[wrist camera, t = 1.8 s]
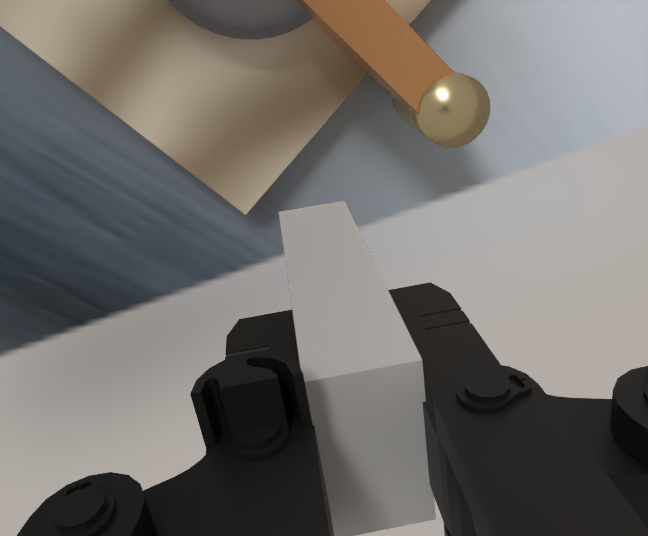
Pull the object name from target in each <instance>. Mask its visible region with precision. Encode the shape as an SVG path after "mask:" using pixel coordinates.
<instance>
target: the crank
mask: <svg viewBox="0 0 648 536" xmlns="http://www.w3.org/2000/svg"><path fill="white" fill-rule="evenodd" d="M167 1H168V2H169V3H170V4H171V5H172V6H173V7H174V8H175V9H176V10H177V11H178V12H179V13H181V14H182V15H183V16H185V17H186V18H187V19H188V20H190V21H192V22H193V23H195V24H197V25H198V26H200V27H202V28H204V29H207V30H209V31H211V32H213V33H216V34H219V35H223V36H226V37H230V38H237V39H265V38H272V37H276V36H279V35H283V34H286V33H288V32H290V31H293V30H295V29H297V28H299V27H301V26H302V25H304V24H306V23H307V22H309V21H310V20H312V19H313V20H314V21H315V22H316V23H317V24H318V25H319V26H320V27H321V28H322V29H323V30H324V31H325V32H326V33H327V34H328V35H329V36H330V37H331V38H332V39H333V40H334V41H335V42H336V43H337V44H338V45H339V46H340V47H341V48H343V49H344V50H345V51H346V52H347V53H348V54H349V55H350V56H351V57H352V58H353V59H354V60H355V61H356V62H357V63H358V64H359V65H360V66H361V67H362V68H363V69H364V70H365V71H366V72H367V73H368V74H369V75H370V76H371V77H372V78H373V79H374V80H376V81H377V82H378V83H379V84H380V85H381V86H382V87H383V88H384V89H385V90H386V91H387V92H388V93H389V94H390V95H391V96H392V99H393V105H394V108H395V110H396V112H397V113H398V115H399V116H400V117H401V118H402V119H404V120H405V121H406V122H408V123H409V124H410V125H412V126H413V127H414V128H416V129H417V130H418V131H420V132H421V133H423V134H424V135H425V136H427V137H428V138H429V139H431V140H432V141H433V142H435V143H437V144H438V145H441V146H444V147H459V146H463V145H465V144H468V143H469V142H471V141H472V140H474V139H475V138H476V137H477V136H478V135H479V134H480V133H481V132H482V130H483V129H484V127H485V125H486V124H487V121H488V118H489V114H490V100H489V96H488V94H487V91H486V90H485V88H484V87H483V85H482V84H481V83H480V82H479V81H477V80H476V79H474V78H472V77H470V76H467V75H464V74H461V73H458V72H454V71H452V70H451V69H450V68H449V67H448V66H447V64H446V63H445V62H444V61H443V60H442V59H441V58H440V57H439V56H438V55H437V54H436V53H435V52H434V51H433V50H432V49H431V48H430V47H429V46H428V45H427V44H426V42H425V41H424V40H423V39H422V38H421V37H420V36H419V35H418V34H417V33H416V32H415V31H414V30H413V29H412V28H411V27H410V26H409V25H408V24H407V23H406V22H405V21H404V19H403V18H402V17H401V16H400V15H399V14H398V13H397V12H396V11H395V10H394V9H393V8H392V7H391V6H390V5H389V4H388V3H387V2H386V1H385V0H167Z"/></svg>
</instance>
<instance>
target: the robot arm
mask: <svg viewBox="0 0 648 536" xmlns="http://www.w3.org/2000/svg"><path fill="white" fill-rule="evenodd" d="M279 218H280V226H281V233H282V240H283V247H284V254H285V261H286V268H287V276H288V282H289V290H290V297H291V304H292V310H288V311H282V312H277V313H271V314H266V315H261V316H255V317H249V318H244V319H239V321H238V322H237V323H236V325H235V326H234V327H233V329H232V330H231V331H230V333H229V334H228V335H227V342H226V357H225V360H224V361H222V362H220V363H218V364H216V365H214V366H213V367H211V368H209V369H208V370H207V371H206V372H205V373H204V374H203V375H202V376H201V377H200V378H198V379H197V380H196V383H195V385H194V387H193V389H192V391H191V398H192V401H193V405H194V408H195V411H196V414H197V418H198V422H199V425H200V429H201V432H202V435H203V439H204V442H205V446H206V455H205V456H204V457H203V458H202V460H200V461H199V462H198V463H196V464H195V465H194V466H192V467H191V468H190V469H188V470H186V471H185V472H183V473H181V474H179V475H177V476H175V477H173V478H171V479H169V480H166V481H164V482H162V483H160V484H157V485H155V486H153V487H151V488H148V489H146V490H144V491H143V490H142V487H141V485H140V484H139V483H138V482H137V481H135V480H134V479H133V478H131V477H130V476H129V475H124V474H118V473H112V472H110V473H103V474H97V475H91V476H88V477H85V478H83V479H80V480H78V481H76V482H73V483H71V484H68V485H66V486H65V487H63V488H62V489H61V490H59V491H58V492H56V493H55V494H53V495H52V496H50V497H49V498H47V499H46V500H45V501H44V502H43V503H42V504H41V505H40V507H39V508H38V509H37V510H36V511H35V512H34V513H33V514H32V515H31V516H30V517H29V519H28V520H27V522H26V523H25V525H24V526H23V527H22V529H21V530H20V532H19V533H18V535H17V536H354V535H359V534H364V533H369V532H374V531H379V530H384V529H389V528H394V527H399V526H404V525H409V524H414V523H419V522H424V521H429V520H434V519H436V516H435V504H434V497H435V500H436V502H437V505H438V508H439V510H440V513H441V516H442V518H443V521H444V532H445V536H648V366H646V367H641V368H637V369H632V370H630V371H628V372H627V373H625V374H624V375H622V376H621V377H619V378H618V379H617V382H616V384H615V387H614V389H613V397H612V399H588V398H566V397H555V396H551V395H547V394H546V393H545V392H544V391H543V389H542V388H541V387H540V386H539V385H538V383H536V382H535V381H534V380H533V379H532V378H530V377H529V376H528V375H527V374H526V373H523V372H521V371H518V370H516V369H513V368H511V367H509V366H502V365H500V363H499V362H498V360H497V359H496V358H495V356H494V355H493V353H492V352H491V351H490V349H489V348H488V346H487V345H486V343H485V342H484V340H483V339H482V338H481V336H480V335H479V333H478V332H477V330H476V329H475V328H474V326H473V325H472V324H470V321H469V319H468V318H467V316H466V315H465V313H464V312H463V311H461V308H460V306H459V305H458V304H457V302H456V301H455V299H454V298H453V296H452V295H451V293H449V292H447V291H445V290H443V289H442V288H440V287H438V286H435V285H434V284H432V283H425V284H420V285H414V286H409V287H404V288H398V289H393V290H388V289H387V287H386V285H385V283H384V281H383V279H382V277H381V274H380V272H379V270H378V268H377V266H376V264H375V262H374V260H373V258H372V256H371V254H370V252H369V250H368V248H367V246H366V244H365V242H364V240H363V238H362V236H361V234H360V232H359V230H358V227H357V225H356V223H355V221H354V219H353V217H352V215H351V213H350V211H349V209H348V207H347V205H346V203H345V201H338V202H333V203H327V204H321V205H315V206H310V207H304V208H298V209H292V210H287V211H281V212H279Z"/></svg>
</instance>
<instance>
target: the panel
mask: <svg viewBox="0 0 648 536" xmlns="http://www.w3.org/2000/svg"><path fill="white" fill-rule="evenodd" d="M385 1H386V2H387V3H388V4H389V5H390V6H391V7H392V8H393V9H394V10H395V11H396V12H397V13H398V14H399V15H400V16H401V17H402V18H403V19H404V21H405V22H406V23H407V24H408V25H410V24H411V23H412V21H413V20H414V19H415V18H416V17H417V16H418V14H419V13H420V12H421V11H422V10H423V9H424V8H425V6H426V5H427V4H428V3H429V2H430V1H431V0H385ZM0 27H2V28H3V29H4V30H6V31H7V32H8V33H10V34H11V35H12V36H13V37H15V38H16V39H17V40H19V41H20V42H21V43H23V44H24V45H25V46H26V47H28V48H29V49H30V50H32V51H33V52H34V53H36V54H37V55H38V56H39V57H41V58H42V59H43V60H45V61H46V62H47V63H49V64H50V65H51V66H52V67H54V68H55V69H56V70H58V71H59V72H60V73H62V74H63V75H64V76H65V77H67V78H68V79H69V80H71V81H72V82H73V83H75V84H76V85H77V86H79V87H80V88H81V89H82V90H84V91H85V92H86V93H88V94H89V95H90V96H92V97H93V98H94V99H95V100H97V101H98V102H99V103H101V104H102V105H103V106H105V107H106V108H107V109H108V110H110V111H111V112H112V113H114V114H115V115H116V116H118V117H119V118H120V119H121V120H123V121H124V122H125V123H127V124H128V125H129V126H131V127H132V128H133V129H134V130H136V131H137V132H138V133H140V134H141V135H142V136H144V137H145V138H146V139H147V140H149V141H150V142H151V143H153V144H154V145H155V146H157V147H158V148H159V149H160V150H162V151H163V152H164V153H166V154H167V155H168V156H170V157H171V158H172V159H173V160H175V161H176V162H177V163H179V164H180V165H181V166H183V167H184V168H185V169H186V170H188V171H189V172H190V173H192V174H193V175H194V176H196V177H197V178H198V179H199V180H201V181H202V182H203V183H205V184H206V185H207V186H209V187H210V188H211V189H212V190H214V191H215V192H216V193H218V194H219V195H220V196H222V197H223V198H224V199H225V200H227V201H228V202H229V203H231V204H232V205H233V206H235V207H236V208H237V209H239V210H240V211H241V212H242V213H244V214H245V215H246V214H247V213H248V212H249V210H250V209H251V208H252V207H253V206H254V205H255V203H256V202H257V201H258V200H259V199H260V198H261V196H262V195H263V194H264V193H265V192H266V191H267V190H268V188H269V187H270V186H271V185H272V184H273V183H274V181H275V180H276V179H277V178H278V177H279V176H280V174H281V173H282V172H283V171H284V170H285V169H286V167H287V166H288V165H289V164H290V163H291V162H292V161H293V159H294V158H295V157H296V156H297V155H298V154H299V152H300V151H301V150H302V149H303V148H304V147H305V145H306V144H307V143H308V142H309V141H310V140H311V139H312V137H313V136H314V135H315V134H316V133H317V132H318V130H319V129H320V128H321V127H322V126H323V125H324V123H325V122H326V121H327V120H328V119H329V118H330V116H331V115H332V114H333V113H334V112H335V111H336V110H337V108H338V107H339V106H340V105H341V104H342V103H343V101H344V100H345V99H346V98H347V97H348V96H349V94H350V93H351V92H352V91H353V90H354V89H355V88H356V86H357V85H358V84H359V83H360V82H361V81H362V79H363V78H364V77H365V76H366V75H367V74H368V73H367V72H366V71H365V70H364V69H363V68H362V67H361V66H360V65H359V64H358V63H357V62H356V61H355V60H354V59H353V58H352V57H351V56H350V55H349V54H348V53H347V52H346V51H345V50H344V49H343V48H341V47H340V46H339V45H338V44H337V43H336V42H335V41H334V40H333V39H332V38H331V37H330V36H329V35H328V34H327V33H326V32H325V31H324V30H323V29H322V28H321V27H320V26H319V25H318V24H317V23H316V22H315V21H314V20H313V19H312V20H310V21H309V22H307V23H306V24H304V25H302V26H301V27H299V28H297V29H295V30H293V31H290V32H288V33H286V34H283V35H279V36H276V37H272V38H265V39H237V38H230V37H226V36H223V35H219V34H216V33H213V32H211V31H209V30H207V29H204V28H202V27H200V26H198V25H197V24H195V23H193V22H192V21H190V20H188V19H187V18H186V17H185V16H183V15H182V14H181V13H179V12H178V11H177V10H176V9H175V8H174V7H173V6H172V5H171V4H170V3H169V2H168V1H167V0H0Z"/></svg>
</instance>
